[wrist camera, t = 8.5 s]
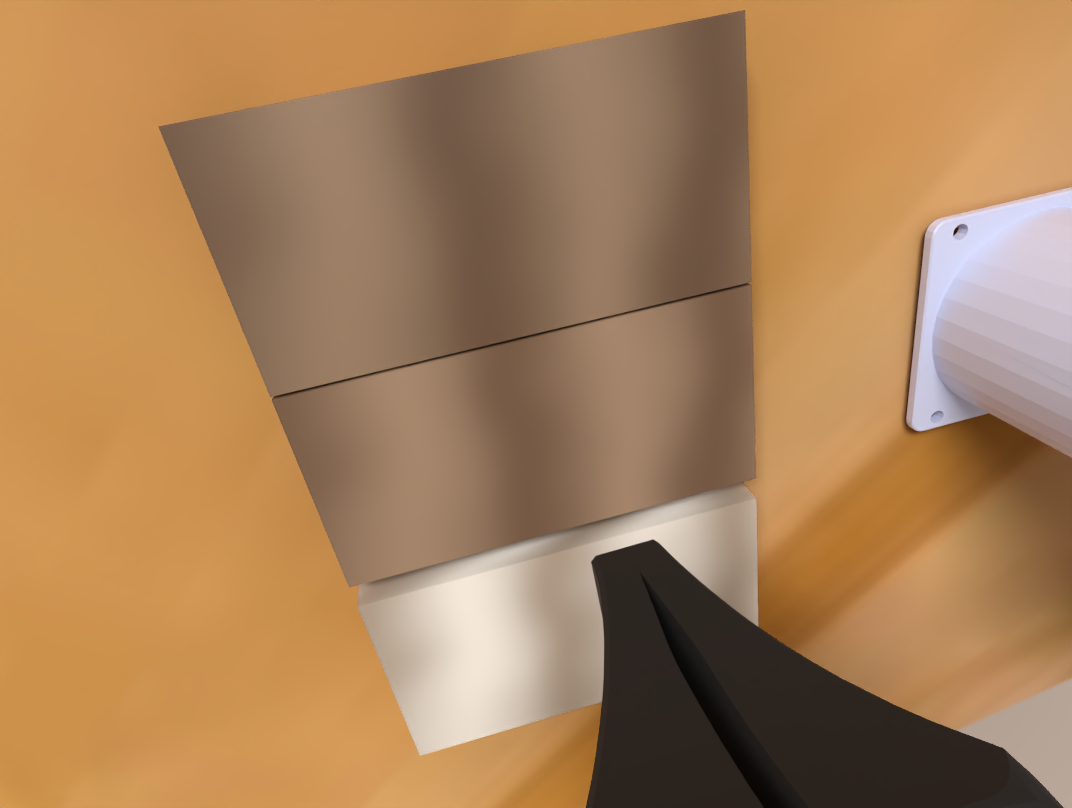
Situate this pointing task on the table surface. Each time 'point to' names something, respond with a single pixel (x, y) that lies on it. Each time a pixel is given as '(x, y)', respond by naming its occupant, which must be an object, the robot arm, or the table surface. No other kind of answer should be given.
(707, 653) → the robot arm
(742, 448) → the walnut planks
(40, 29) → the table surface
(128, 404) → the table surface
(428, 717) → the ash plank
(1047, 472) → the table surface
